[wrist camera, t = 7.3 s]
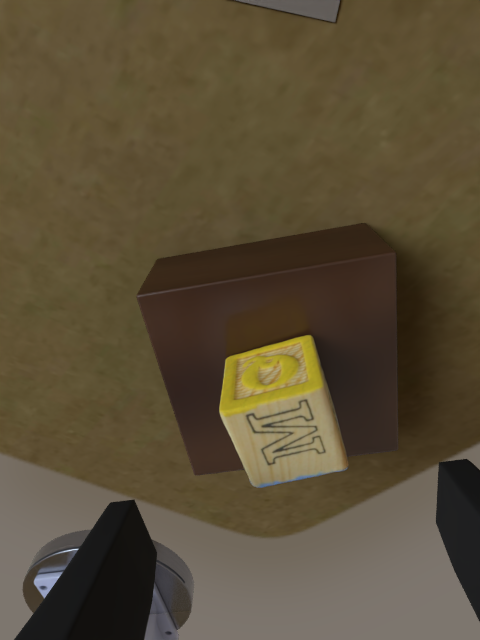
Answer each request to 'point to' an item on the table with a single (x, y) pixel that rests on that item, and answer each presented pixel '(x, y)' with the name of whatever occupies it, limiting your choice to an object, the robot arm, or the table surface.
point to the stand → (278, 330)
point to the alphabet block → (281, 413)
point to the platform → (302, 7)
